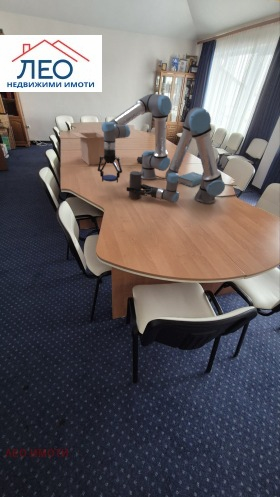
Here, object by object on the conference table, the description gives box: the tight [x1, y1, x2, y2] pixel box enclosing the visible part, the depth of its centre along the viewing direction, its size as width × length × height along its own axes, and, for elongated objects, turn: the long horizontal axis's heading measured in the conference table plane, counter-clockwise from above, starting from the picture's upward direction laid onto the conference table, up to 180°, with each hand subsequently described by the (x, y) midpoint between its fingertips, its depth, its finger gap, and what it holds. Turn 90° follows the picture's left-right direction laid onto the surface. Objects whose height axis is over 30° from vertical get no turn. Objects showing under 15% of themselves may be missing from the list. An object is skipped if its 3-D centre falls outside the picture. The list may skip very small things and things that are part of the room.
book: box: [178, 171, 202, 188], centre depth 201 cm, size 23×16×5 cm
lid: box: [103, 174, 117, 183], centre depth 159 cm, size 10×10×2 cm
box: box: [70, 129, 105, 166], centre depth 229 cm, size 44×36×27 cm
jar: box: [128, 170, 143, 200], centre depth 164 cm, size 9×9×18 cm
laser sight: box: [136, 153, 143, 164], centre depth 238 cm, size 10×22×10 cm, turn 78°
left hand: (110, 181), depth 160 cm, fingers closed on lid, 10 cm apart
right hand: (129, 186), depth 167 cm, fingers closed on jar, 9 cm apart
